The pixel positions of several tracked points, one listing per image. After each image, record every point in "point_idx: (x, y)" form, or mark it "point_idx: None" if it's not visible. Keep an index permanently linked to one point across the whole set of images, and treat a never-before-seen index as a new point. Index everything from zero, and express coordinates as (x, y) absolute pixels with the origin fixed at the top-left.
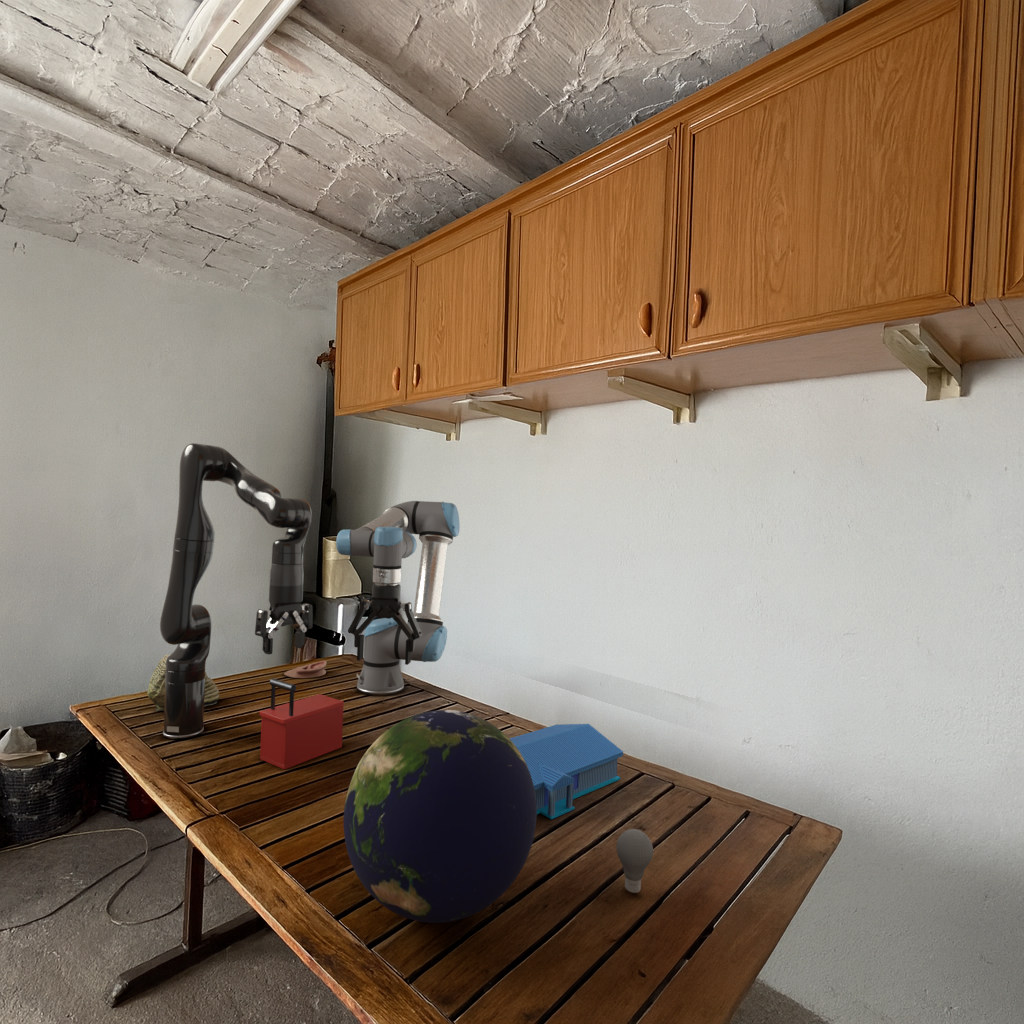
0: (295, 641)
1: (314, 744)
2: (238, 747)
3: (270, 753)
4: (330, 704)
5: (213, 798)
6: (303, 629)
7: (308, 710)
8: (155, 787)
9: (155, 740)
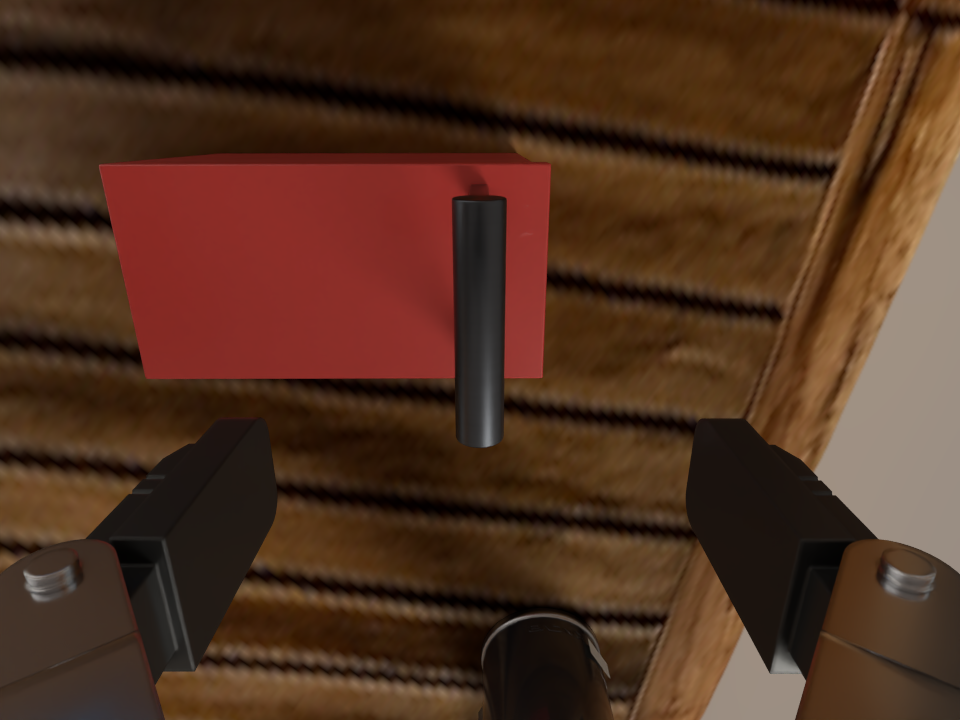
0: (251, 552)
1: (360, 155)
2: (497, 447)
3: None
4: (196, 178)
5: (824, 143)
6: (71, 585)
7: (356, 190)
8: (852, 366)
9: (623, 656)
